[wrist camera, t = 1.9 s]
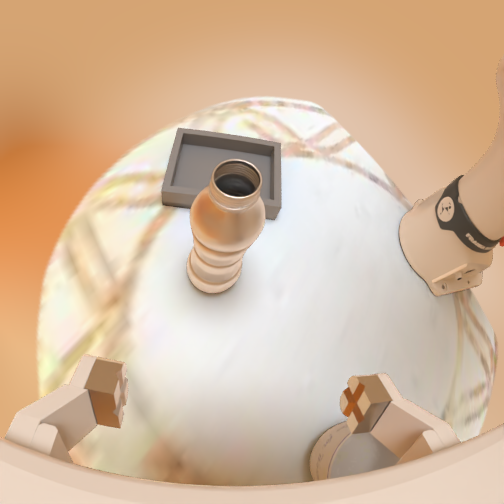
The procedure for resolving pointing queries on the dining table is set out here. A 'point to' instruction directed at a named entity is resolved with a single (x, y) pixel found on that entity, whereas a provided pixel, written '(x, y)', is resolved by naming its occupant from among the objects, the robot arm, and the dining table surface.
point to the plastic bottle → (225, 225)
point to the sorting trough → (209, 156)
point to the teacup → (348, 454)
